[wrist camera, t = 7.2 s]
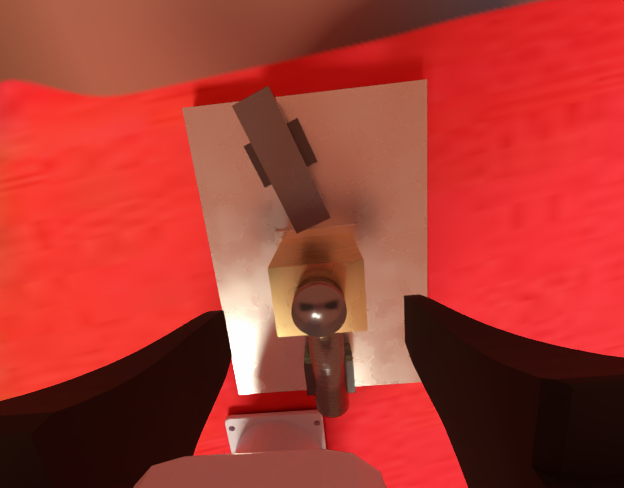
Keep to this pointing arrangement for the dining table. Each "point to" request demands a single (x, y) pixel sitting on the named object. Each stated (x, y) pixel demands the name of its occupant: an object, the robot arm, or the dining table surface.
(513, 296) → the dining table surface
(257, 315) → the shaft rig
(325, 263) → the tan block with knob
